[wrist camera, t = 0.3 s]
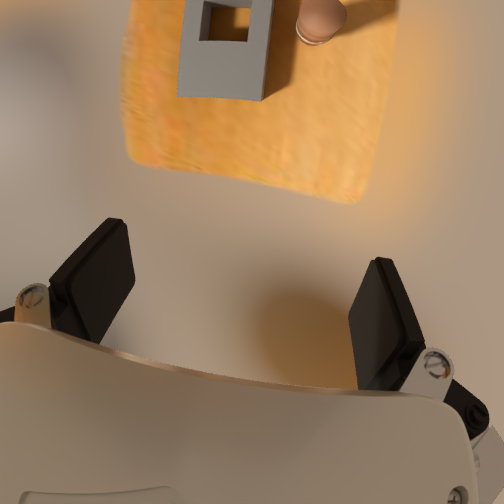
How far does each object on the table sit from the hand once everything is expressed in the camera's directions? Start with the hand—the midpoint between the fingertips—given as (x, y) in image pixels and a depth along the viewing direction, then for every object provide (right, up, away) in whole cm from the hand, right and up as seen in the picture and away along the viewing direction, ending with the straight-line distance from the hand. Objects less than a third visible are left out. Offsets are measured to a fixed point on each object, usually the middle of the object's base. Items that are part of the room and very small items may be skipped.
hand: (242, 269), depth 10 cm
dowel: (+8, +27, +16) cm, 33 cm away
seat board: (-2, +29, +16) cm, 33 cm away
